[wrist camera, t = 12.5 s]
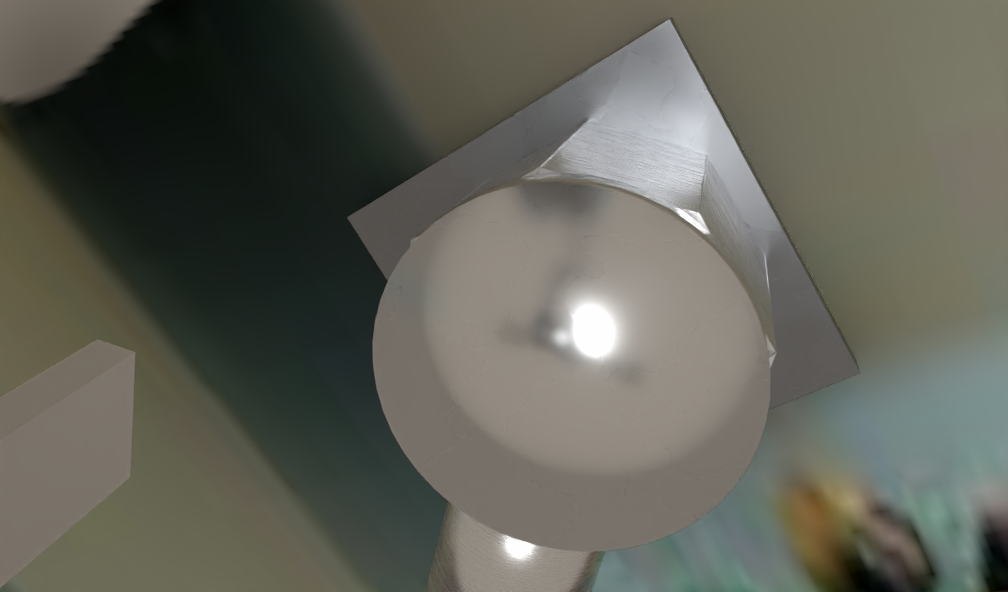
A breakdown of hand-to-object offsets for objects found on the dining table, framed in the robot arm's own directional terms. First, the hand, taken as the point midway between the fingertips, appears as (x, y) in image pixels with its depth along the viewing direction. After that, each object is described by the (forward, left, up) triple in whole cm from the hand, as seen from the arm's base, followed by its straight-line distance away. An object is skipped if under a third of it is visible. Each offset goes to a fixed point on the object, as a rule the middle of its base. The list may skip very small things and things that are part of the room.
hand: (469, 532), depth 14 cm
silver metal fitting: (+2, -1, -14) cm, 14 cm away
